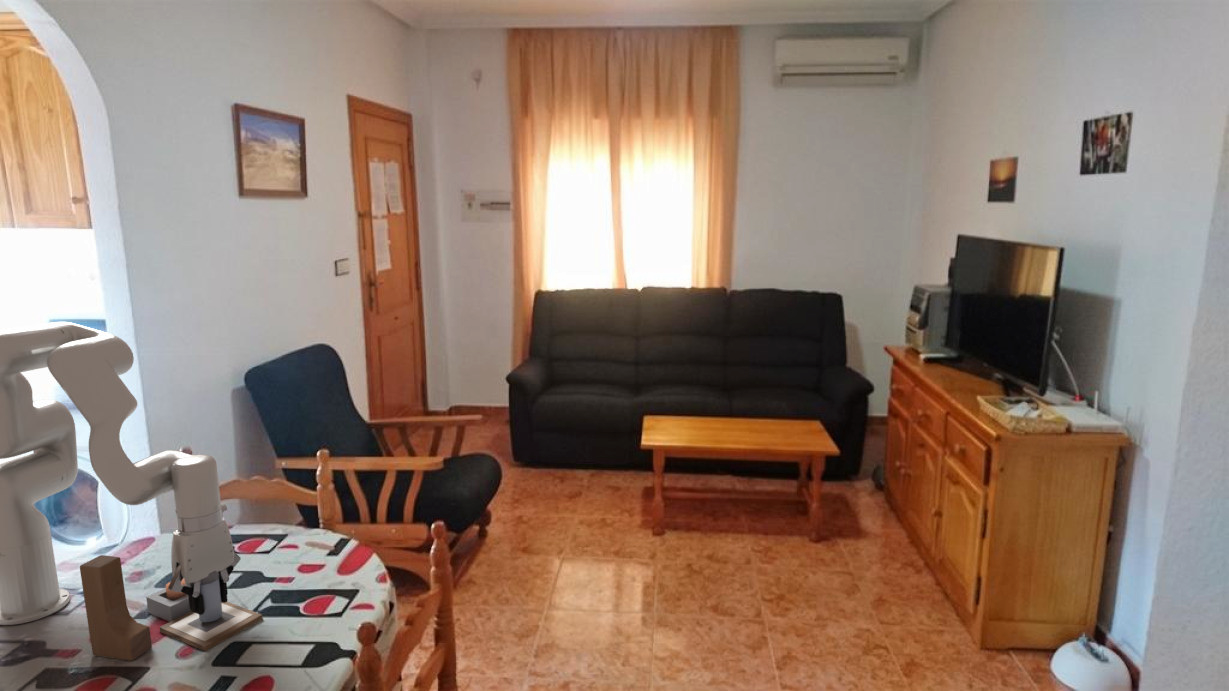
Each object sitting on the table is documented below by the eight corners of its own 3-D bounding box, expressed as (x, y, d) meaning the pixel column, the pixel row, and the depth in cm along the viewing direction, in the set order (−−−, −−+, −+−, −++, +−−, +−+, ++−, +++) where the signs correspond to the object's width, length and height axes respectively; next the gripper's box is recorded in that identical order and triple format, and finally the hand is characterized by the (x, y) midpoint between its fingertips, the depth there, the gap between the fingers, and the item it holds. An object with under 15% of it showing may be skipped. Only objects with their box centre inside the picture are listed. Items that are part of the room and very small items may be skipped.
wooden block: (153, 647, 132) (141, 558, 129) (132, 662, 128) (120, 570, 125) (113, 641, 134) (100, 554, 131) (91, 656, 130) (78, 565, 127)
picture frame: (159, 631, 137) (159, 626, 137) (218, 602, 148) (217, 597, 148) (205, 651, 131) (204, 645, 131) (262, 619, 142) (262, 613, 141)
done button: (162, 597, 144) (161, 585, 144) (181, 588, 148) (180, 577, 147) (174, 601, 143) (173, 590, 142) (193, 592, 146) (192, 581, 146)
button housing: (148, 612, 144) (146, 597, 143) (186, 594, 151) (185, 579, 150) (172, 622, 140) (170, 606, 140) (210, 603, 147) (208, 588, 147)
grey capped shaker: (194, 619, 138) (188, 572, 136) (214, 608, 142) (209, 562, 140) (207, 624, 136) (202, 577, 135) (227, 614, 140) (223, 567, 138)
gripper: (228, 500, 145) (236, 582, 148) (143, 532, 130) (154, 623, 133) (252, 507, 141) (260, 591, 144) (167, 541, 127) (179, 633, 130)
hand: (209, 605), depth 139 cm, fingers closed on grey capped shaker, 4 cm apart
